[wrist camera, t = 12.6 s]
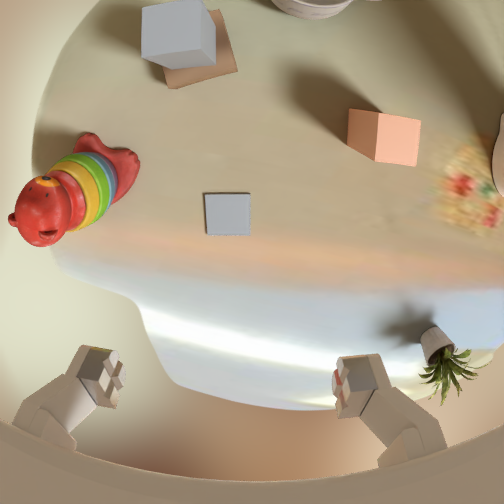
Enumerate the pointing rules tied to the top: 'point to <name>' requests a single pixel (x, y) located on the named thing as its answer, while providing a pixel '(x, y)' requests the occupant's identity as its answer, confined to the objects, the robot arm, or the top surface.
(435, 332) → the house plant
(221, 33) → the walnut block
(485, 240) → the top surface
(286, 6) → the teacup
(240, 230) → the slate swatch
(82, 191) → the stacking bear
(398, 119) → the terracotta pillar
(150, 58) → the slate pillar
